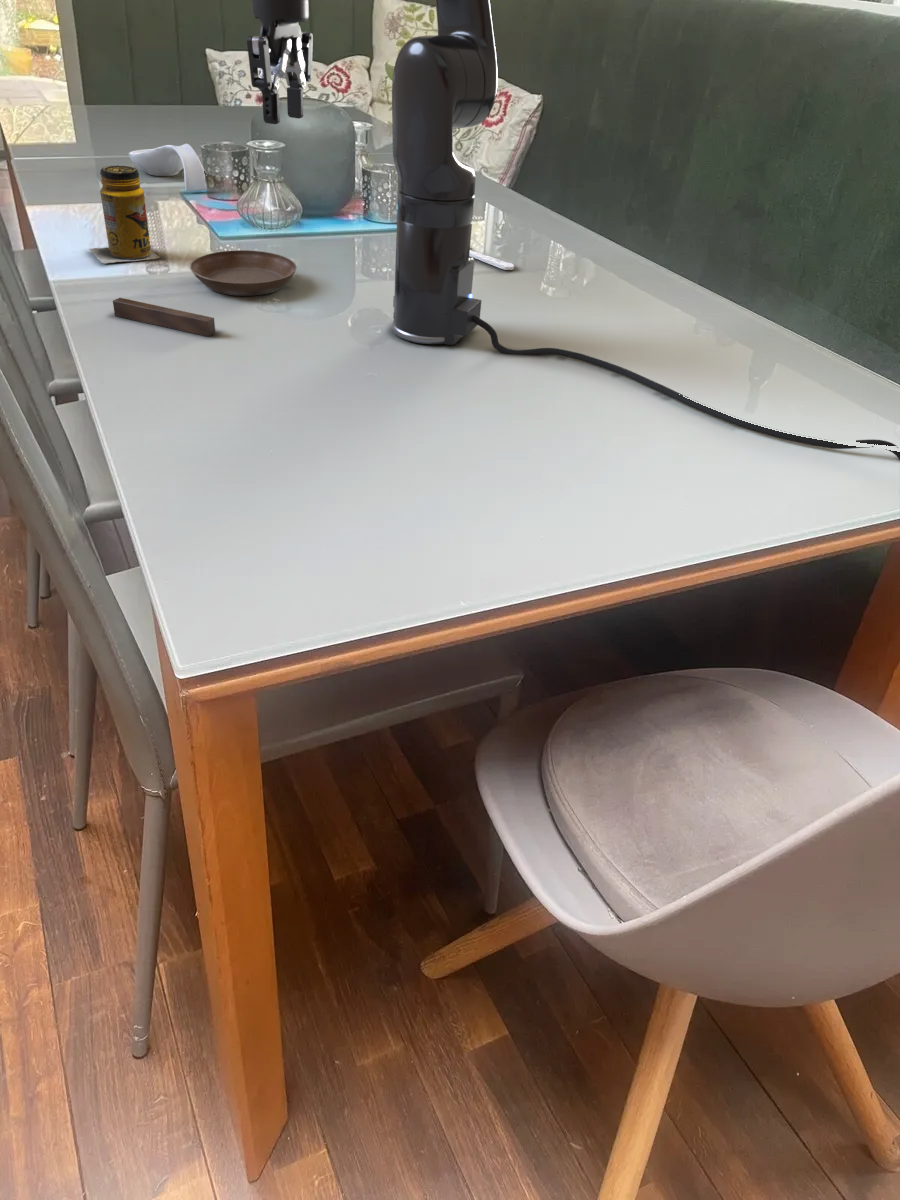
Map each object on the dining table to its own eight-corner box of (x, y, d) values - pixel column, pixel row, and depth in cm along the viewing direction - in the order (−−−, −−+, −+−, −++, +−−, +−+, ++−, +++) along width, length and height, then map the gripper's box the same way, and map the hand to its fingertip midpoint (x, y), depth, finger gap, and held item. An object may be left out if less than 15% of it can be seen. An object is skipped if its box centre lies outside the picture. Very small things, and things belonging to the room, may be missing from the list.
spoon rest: (121, 168, 180) (116, 129, 176) (177, 164, 186) (173, 126, 182) (170, 195, 165) (165, 153, 161) (228, 190, 171) (225, 149, 167)
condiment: (160, 259, 134) (150, 172, 127) (103, 264, 130) (89, 175, 123) (144, 246, 139) (133, 162, 132) (89, 251, 135) (74, 164, 128)
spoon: (500, 272, 141) (500, 268, 141) (423, 243, 151) (423, 240, 150) (523, 267, 144) (523, 263, 144) (446, 239, 154) (446, 236, 154)
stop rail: (215, 333, 112) (214, 317, 111) (209, 337, 111) (207, 321, 110) (122, 312, 115) (119, 297, 114) (114, 316, 114) (112, 300, 113)
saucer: (234, 308, 119) (232, 288, 118) (170, 280, 127) (168, 260, 125) (318, 288, 129) (318, 269, 127) (254, 262, 136) (253, 244, 135)
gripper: (276, -21, 110) (282, 130, 120) (330, -21, 121) (331, 117, 131) (223, -27, 112) (233, 123, 122) (280, -26, 123) (285, 111, 133)
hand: (284, 119), depth 126 cm, fingers open, 6 cm apart
